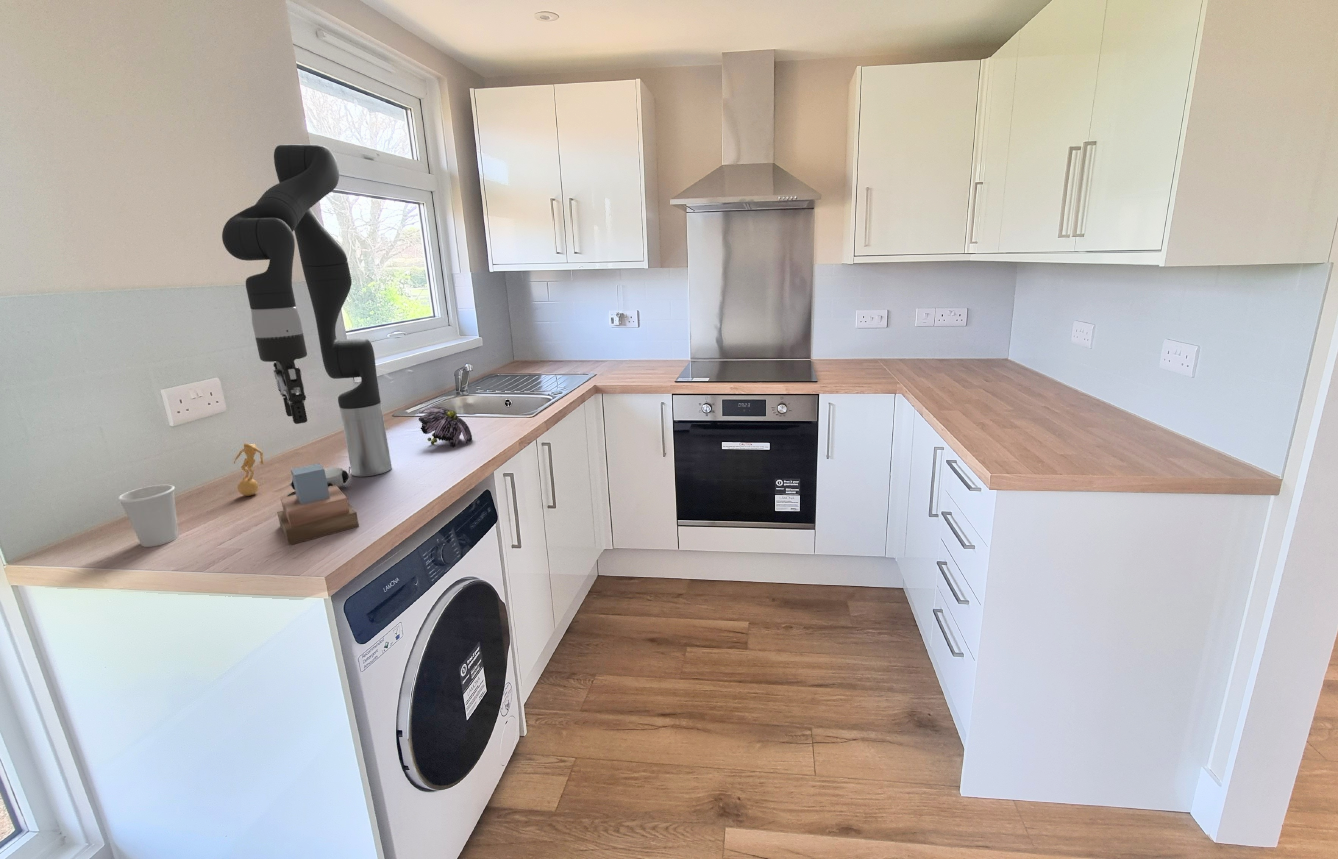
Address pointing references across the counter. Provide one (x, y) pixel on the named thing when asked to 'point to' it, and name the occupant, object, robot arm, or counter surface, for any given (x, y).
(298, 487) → the slate brick
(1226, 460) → the counter surface
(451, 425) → the decorative flower
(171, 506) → the dixie cup
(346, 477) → the robot toy
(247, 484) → the figurine
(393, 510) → the counter surface
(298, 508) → the wooden stepped block
